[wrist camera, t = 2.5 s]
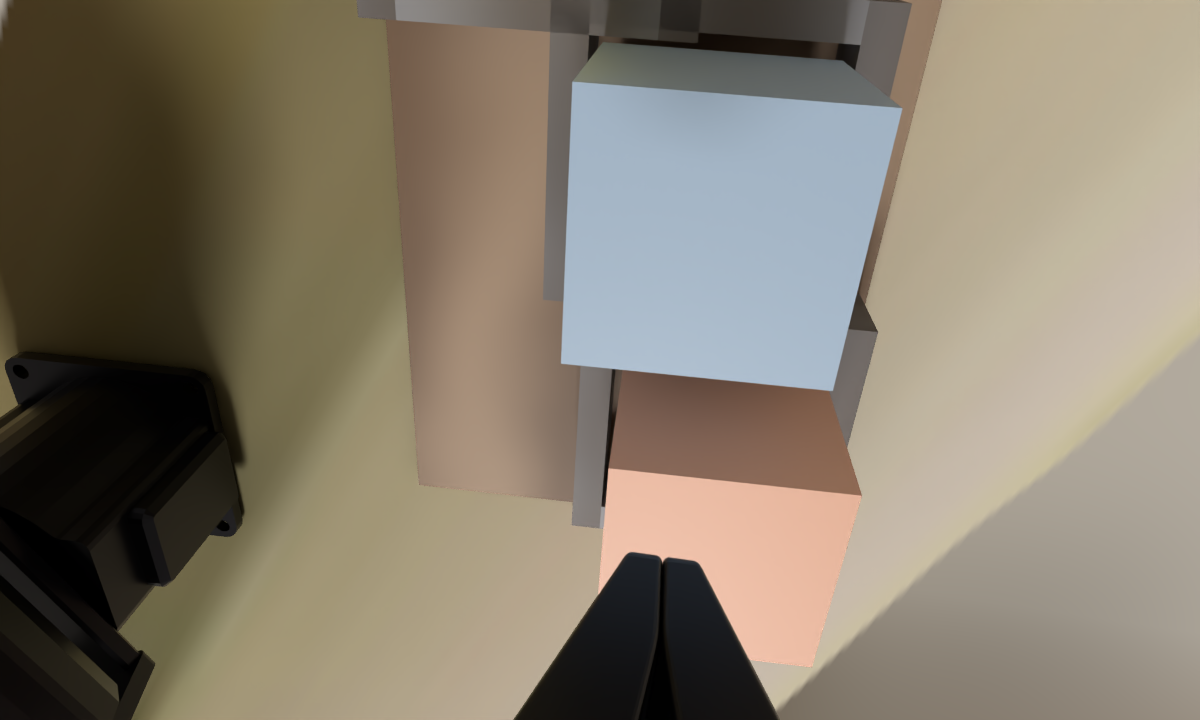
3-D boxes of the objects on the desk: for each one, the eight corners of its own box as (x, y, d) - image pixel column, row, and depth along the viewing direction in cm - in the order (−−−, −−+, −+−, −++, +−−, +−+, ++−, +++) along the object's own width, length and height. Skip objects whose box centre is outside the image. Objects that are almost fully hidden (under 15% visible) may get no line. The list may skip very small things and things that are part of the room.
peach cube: (612, 501, 21) (594, 640, 17) (625, 350, 19) (608, 467, 15) (786, 521, 21) (811, 667, 17) (822, 369, 19) (862, 495, 14)
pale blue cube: (590, 263, 18) (561, 363, 14) (602, 42, 15) (572, 81, 11) (797, 282, 18) (832, 391, 13) (843, 60, 15) (902, 108, 11)
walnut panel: (424, 473, 25) (396, 531, 23) (367, -392, 15) (304, -456, 12) (805, 515, 24) (818, 579, 22) (1024, -361, 14) (1094, -423, 12)
